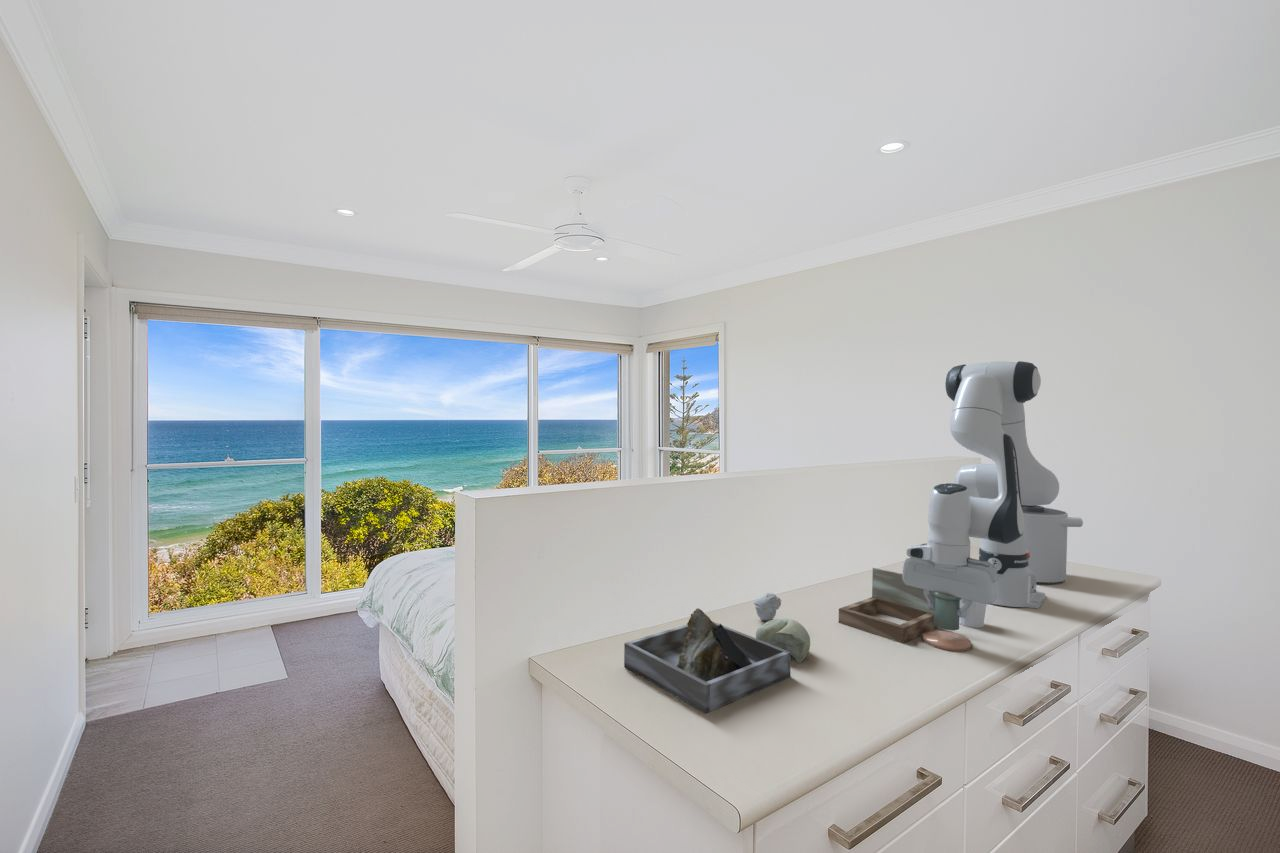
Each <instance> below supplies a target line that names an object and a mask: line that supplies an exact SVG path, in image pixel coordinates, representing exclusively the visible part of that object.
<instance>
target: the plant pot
mask: <svg viewBox="0 0 1280 853" xmlns="http://www.w3.org/2000/svg"><path fill="white" fill-rule="evenodd" d="M933 596H935V609H934V625H935V626H936V627H937V628H938V629H941V630H944V631H958V630H959V629H960V623H959V617H958V616H957V609H959V608H960V600H961V599H962V598H958V597H956V596H952V595H950V594H946V593H942V592H936V591H933Z"/></svg>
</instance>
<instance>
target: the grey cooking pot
mask: <svg viewBox="0 0 1280 853" xmlns="http://www.w3.org/2000/svg"><path fill="white" fill-rule="evenodd" d="M1022 511H1023V514H1024V520H1025V528H1026V552H1030V557H1029V559H1028V564H1029V565H1028V568H1029V569H1030V570H1031V571H1032V573H1033V574H1034V575H1035V576H1036V585H1061V584H1063V583H1065V582H1066V580H1067V554H1068V552H1067V551H1068V550H1067V549H1068V528H1081V527H1083V524H1084V521H1083V518H1082V517H1078V516H1077V517H1076V516H1073V517H1072V516H1068V515H1069V513H1068V512H1067V511H1065V510H1062V509H1058V508H1053V507H1044V506H1043V505H1034V506H1028V505H1022Z"/></svg>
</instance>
